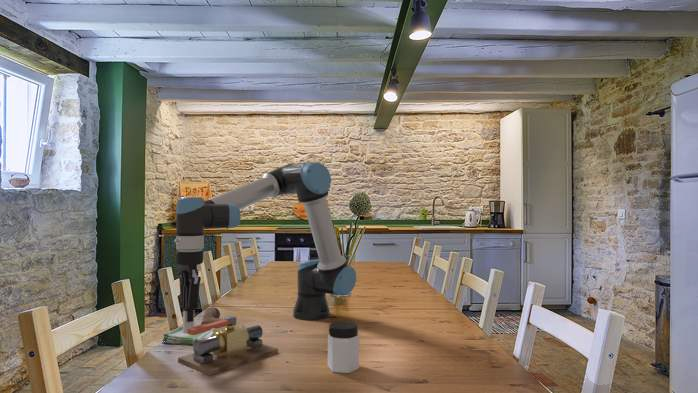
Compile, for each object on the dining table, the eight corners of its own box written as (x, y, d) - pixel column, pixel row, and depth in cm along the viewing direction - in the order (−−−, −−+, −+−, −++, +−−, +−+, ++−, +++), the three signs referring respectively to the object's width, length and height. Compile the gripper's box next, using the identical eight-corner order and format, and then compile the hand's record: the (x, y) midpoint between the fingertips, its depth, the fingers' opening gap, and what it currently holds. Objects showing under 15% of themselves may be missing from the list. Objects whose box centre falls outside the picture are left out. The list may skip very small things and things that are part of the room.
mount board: (244, 342, 146) (244, 338, 146) (277, 352, 136) (277, 348, 136) (178, 361, 127) (178, 357, 127) (210, 375, 117) (210, 370, 117)
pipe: (230, 319, 157) (244, 308, 166) (191, 315, 162) (207, 305, 171) (231, 336, 158) (246, 324, 167) (192, 331, 163) (208, 320, 172)
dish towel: (184, 330, 160) (184, 321, 160) (245, 333, 158) (245, 323, 158) (159, 345, 143) (160, 334, 143) (227, 348, 141) (227, 337, 141)
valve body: (251, 341, 142) (251, 315, 142) (265, 346, 138) (266, 318, 138) (189, 360, 125) (190, 329, 125) (204, 365, 120) (204, 334, 121)
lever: (230, 320, 134) (230, 315, 134) (238, 322, 132) (238, 317, 132) (185, 334, 120) (186, 328, 120) (194, 336, 118) (195, 330, 118)
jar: (342, 360, 129) (342, 319, 129) (364, 367, 124) (364, 324, 124) (321, 368, 122) (321, 325, 123) (343, 376, 117) (343, 331, 117)
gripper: (169, 249, 130) (168, 329, 129) (183, 253, 119) (181, 340, 119) (195, 247, 134) (194, 325, 134) (210, 251, 124) (209, 335, 123)
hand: (188, 332), depth 126 cm, fingers closed
